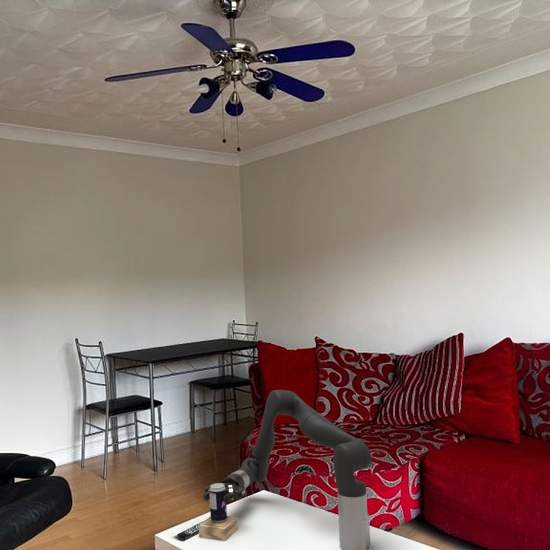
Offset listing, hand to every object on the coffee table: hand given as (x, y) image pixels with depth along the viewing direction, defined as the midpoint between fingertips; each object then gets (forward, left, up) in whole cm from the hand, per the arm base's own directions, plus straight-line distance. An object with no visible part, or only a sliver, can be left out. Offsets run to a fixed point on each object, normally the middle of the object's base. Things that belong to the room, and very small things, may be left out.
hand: (214, 498), depth 196 cm
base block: (0, -2, -12) cm, 13 cm away
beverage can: (0, -2, -8) cm, 9 cm away
